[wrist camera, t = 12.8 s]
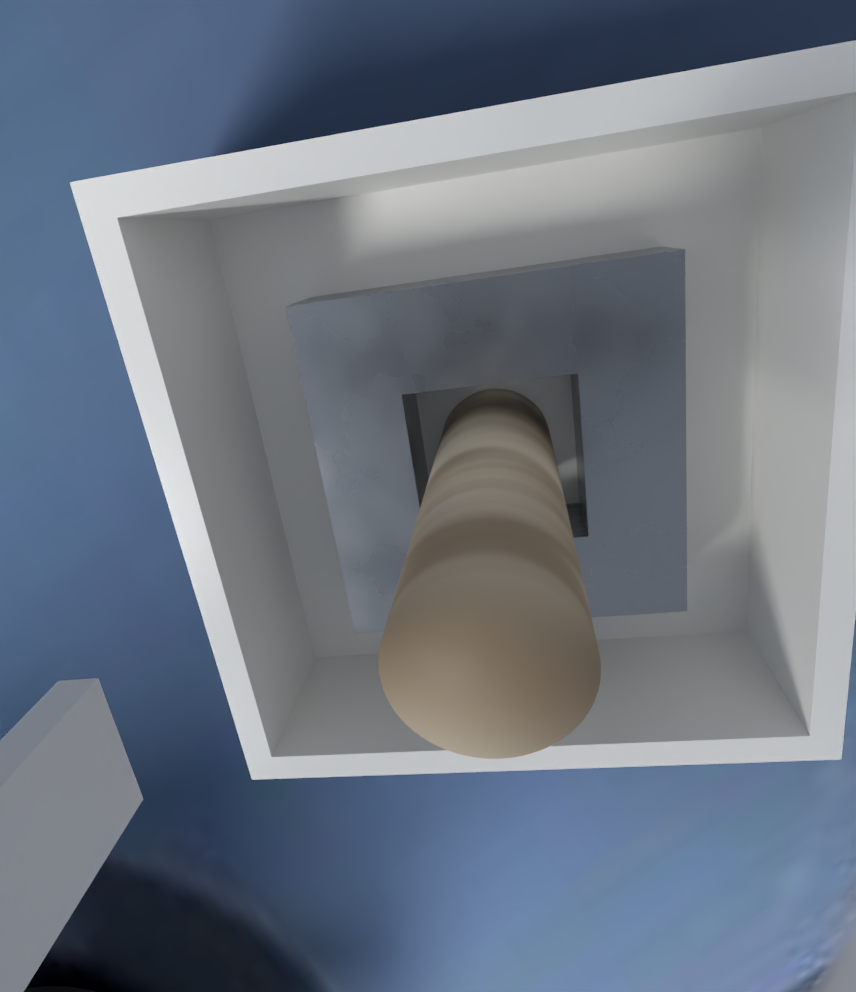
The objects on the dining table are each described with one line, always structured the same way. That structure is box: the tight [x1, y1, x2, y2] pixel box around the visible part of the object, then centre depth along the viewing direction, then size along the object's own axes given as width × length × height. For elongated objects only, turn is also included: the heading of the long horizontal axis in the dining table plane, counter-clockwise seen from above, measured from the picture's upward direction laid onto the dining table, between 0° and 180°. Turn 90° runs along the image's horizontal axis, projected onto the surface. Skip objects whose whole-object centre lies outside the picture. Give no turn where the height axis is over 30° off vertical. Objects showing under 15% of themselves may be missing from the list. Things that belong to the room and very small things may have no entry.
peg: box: [378, 389, 601, 759], centre depth 19 cm, size 4×4×14 cm
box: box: [70, 40, 856, 780], centre depth 23 cm, size 20×20×7 cm
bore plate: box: [286, 246, 687, 633], centre depth 24 cm, size 12×12×3 cm
